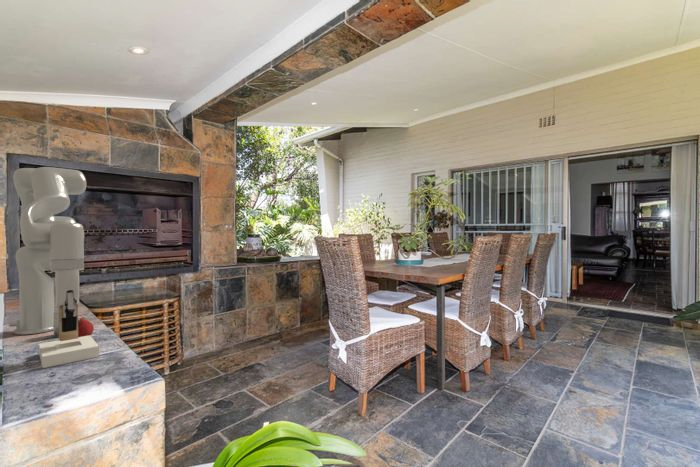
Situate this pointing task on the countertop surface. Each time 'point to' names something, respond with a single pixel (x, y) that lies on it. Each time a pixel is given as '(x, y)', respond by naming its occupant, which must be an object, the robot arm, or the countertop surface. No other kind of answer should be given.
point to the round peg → (56, 324)
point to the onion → (84, 327)
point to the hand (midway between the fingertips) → (68, 328)
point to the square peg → (70, 334)
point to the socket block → (67, 351)
